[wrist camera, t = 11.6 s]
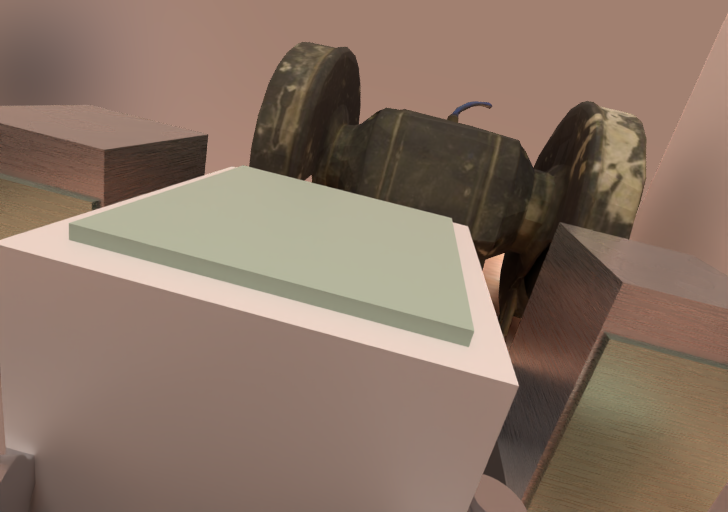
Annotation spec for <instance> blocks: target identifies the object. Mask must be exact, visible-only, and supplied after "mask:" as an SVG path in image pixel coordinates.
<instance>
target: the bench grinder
mask: <svg viewBox="0 0 728 512" xmlns="http://www.w3.org/2000/svg"><path fill="white" fill-rule="evenodd" d="M473 106H483V107H486V108H489V109H490V108H491V107H492V105H491V104H490V103H487V102H468V103H466V104H464V105H462V106H460V107H458V108H457V109H456V110H455V111H454V112H453V113H452V114H451V115H450V116H448V119H447V120H445V119H441V118H437V117H433V116H429V115H425V114H421V113H418V112H413V111H410V110H406V109H403V110H397V109H391V108H385V109H383V110H380V111H378V112H376V113H375V114H374V115H373V116H371V117H370V118H368V119H367V120H366V121H364V122H363V123H362V124H359V115H360V77H359V67H358V63H357V60H356V57H355V55H354V54H353V53H352V52H351V51H350V49H348V47H338V48H334V47H329V46H324V45H319V44H314V43H310V42H308V43H307V42H302V43H299V44H297V45H296V46H295V47H293V48H292V49H291V50H290V51H289V52H287V53H286V55H285V56H284V58H283V59H282V61H281V62H280V63H279V65H278V66H277V69H276V70H275V73H274V74H273V76H272V78H271V80H270V82H269V84H268V87H267V90H266V93H265V96H264V100H263V103H262V106H261V109H260V112H259V115H258V119H257V124H256V128H255V133H254V138H253V142H252V148H251V156H250V165H249V167H252V168H256V169H259V170H263V171H267V172H271V173H275V174H279V175H283V176H287V177H291V178H295V179H299V180H303V181H304V180H306V179H307V178H308V177H309V176H310V175H312V183H315V184H319V185H323V186H327V187H331V188H335V189H339V190H342V191H346V192H350V193H354V194H358V195H362V196H366V197H370V198H374V199H378V200H382V201H386V202H390V203H394V204H398V205H402V206H406V207H410V208H414V209H418V210H422V211H425V212H429V213H433V214H437V215H441V216H445V217H449V218H452V222H453V223H457V224H461V225H465V226H468V228H469V231H470V234H471V237H472V241H473V244H474V247H475V250H476V253H477V256H478V259H479V262H480V266H481V269H482V271H483V267H484V263H485V259H488V258H491V257H494V256H497V255H500V254H502V253H505V254H504V259H503V263H502V268H501V274H500V285H499V309H500V315H499V318H498V322H499V325H500V324H501V326H500V328H501V331H502V334H503V337H504V336H507V333H508V330H509V327H510V324H511V320H512V317H513V316H515V317H519V318H522V316H523V314H524V311H525V309H526V306H527V304H528V301H529V299H530V296H531V294H532V291H533V288H534V286H535V283H536V281H537V278H538V276H539V273H540V271H541V268H542V266H543V263H544V260H545V258H546V255H547V253H548V250H549V248H550V245H551V243H552V240H553V237H554V235H555V232H556V230H557V227H558V225H559V222H561V223H565V224H569V225H573V226H577V227H581V228H585V229H589V230H593V231H597V232H601V233H605V234H609V235H613V236H617V237H621V238H625V239H630V235H631V231H632V228H633V224H634V220H635V217H636V213H637V210H638V207H639V204H640V201H641V196H642V193H643V188H644V184H645V180H646V136H645V132H644V128H643V124H642V122H641V121H640V120H639V119H638V118H637V117H636V116H635V115H632V114H630V113H625V112H621V111H616V110H612V109H608V108H603V107H599V106H598V105H597V104H595V103H594V102H589V101H586V102H582V103H580V104H578V105H577V106H576V107H574V108H572V109H571V110H570V111H569V112H568V113H567V115H566V116H565V117H564V118H563V120H562V121H561V122H560V124H559V125H558V126H557V128H556V130H555V131H554V133H553V134H552V136H551V137H550V139H549V140H548V142H547V144H546V145H545V147H544V148H543V150H542V152H541V153H540V155H539V157H538V159H537V161H536V163H535V166H534V168H533V166H532V164H531V162H530V160H529V158H528V156H527V153H526V151H525V150H524V149H523V147H522V146H521V144H520V141H519V140H516V139H513V138H509V137H506V136H503V135H499V134H496V133H493V132H489V131H486V130H483V129H479V128H476V127H473V126H469V125H465V124H461V123H458V115H459V114H460V112H462V111H464V110H466V109H468V108H470V107H473ZM501 321H502V323H501Z"/></svg>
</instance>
